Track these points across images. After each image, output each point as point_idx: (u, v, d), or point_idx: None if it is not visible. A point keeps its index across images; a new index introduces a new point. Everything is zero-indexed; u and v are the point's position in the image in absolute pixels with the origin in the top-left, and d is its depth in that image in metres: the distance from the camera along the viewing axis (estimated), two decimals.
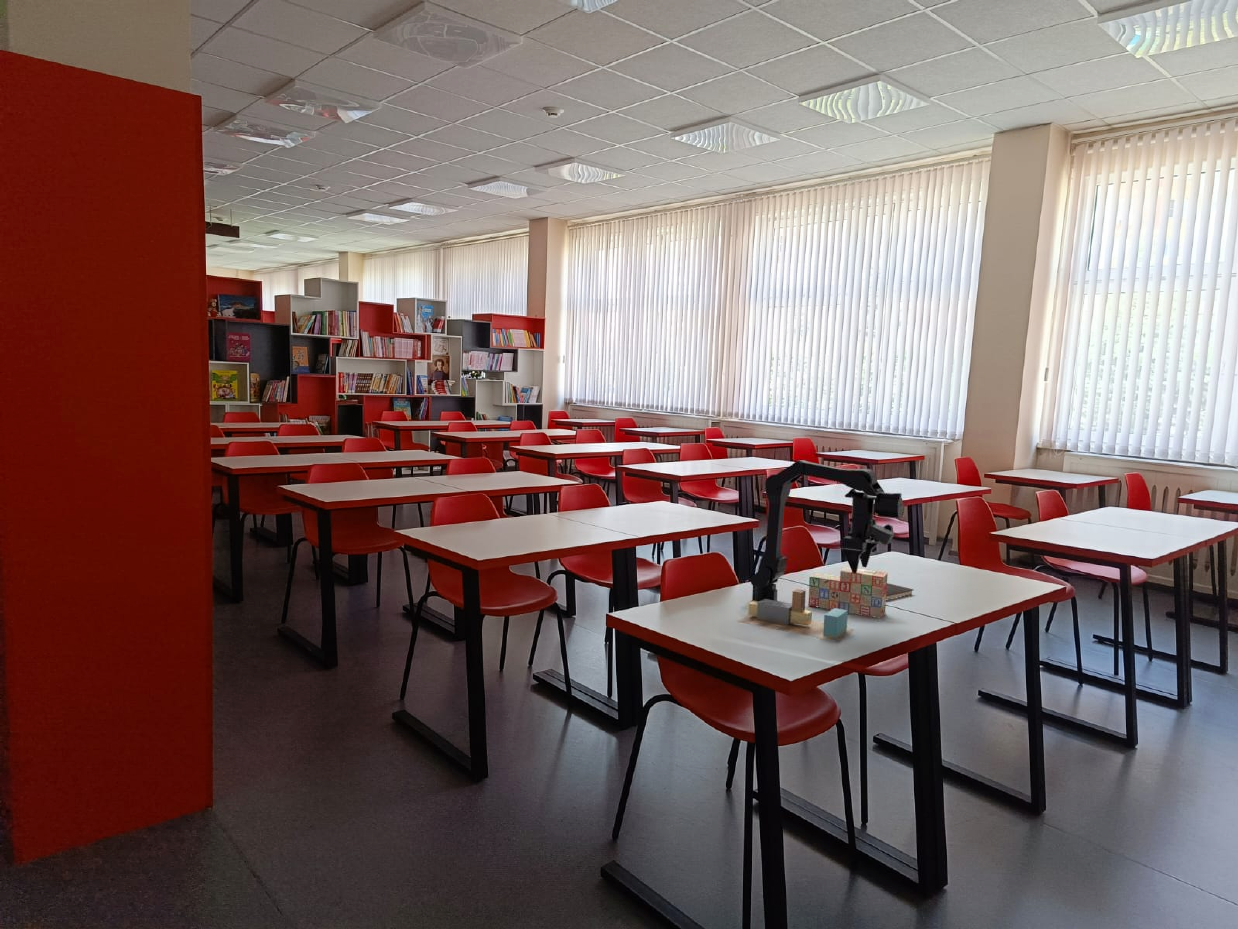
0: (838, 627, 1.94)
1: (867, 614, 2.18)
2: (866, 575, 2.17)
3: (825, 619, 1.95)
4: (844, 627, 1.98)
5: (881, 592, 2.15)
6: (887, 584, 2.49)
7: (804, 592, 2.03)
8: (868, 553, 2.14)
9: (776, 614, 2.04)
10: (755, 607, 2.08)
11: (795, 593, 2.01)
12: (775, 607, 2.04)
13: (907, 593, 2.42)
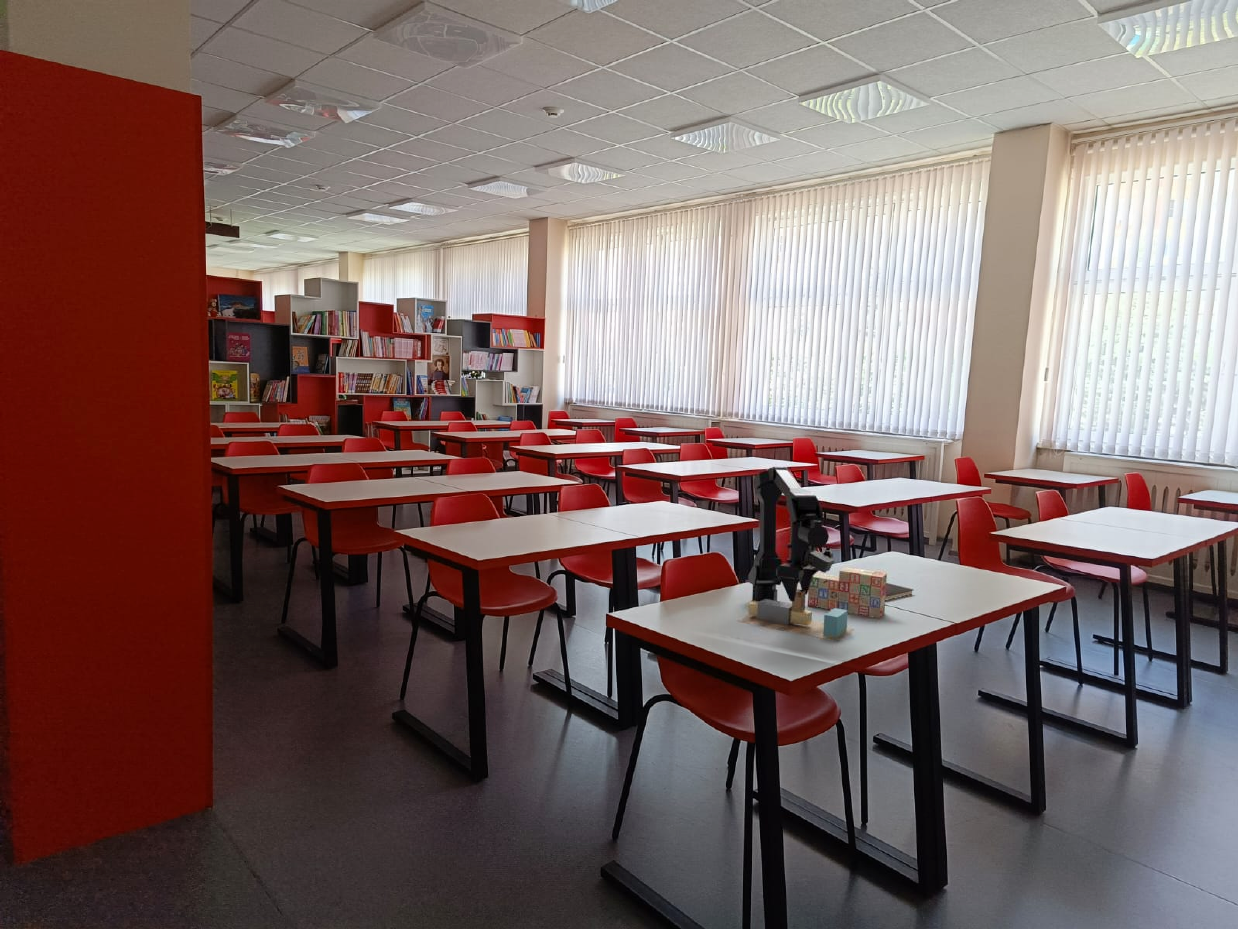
0: (838, 627, 1.94)
1: (866, 614, 2.18)
2: (865, 575, 2.17)
3: (825, 619, 1.95)
4: (844, 627, 1.98)
5: (880, 592, 2.15)
6: (887, 584, 2.49)
7: (804, 592, 2.03)
8: (808, 580, 2.06)
9: (776, 614, 2.04)
10: (755, 607, 2.08)
11: None
12: (775, 607, 2.04)
13: (907, 593, 2.42)
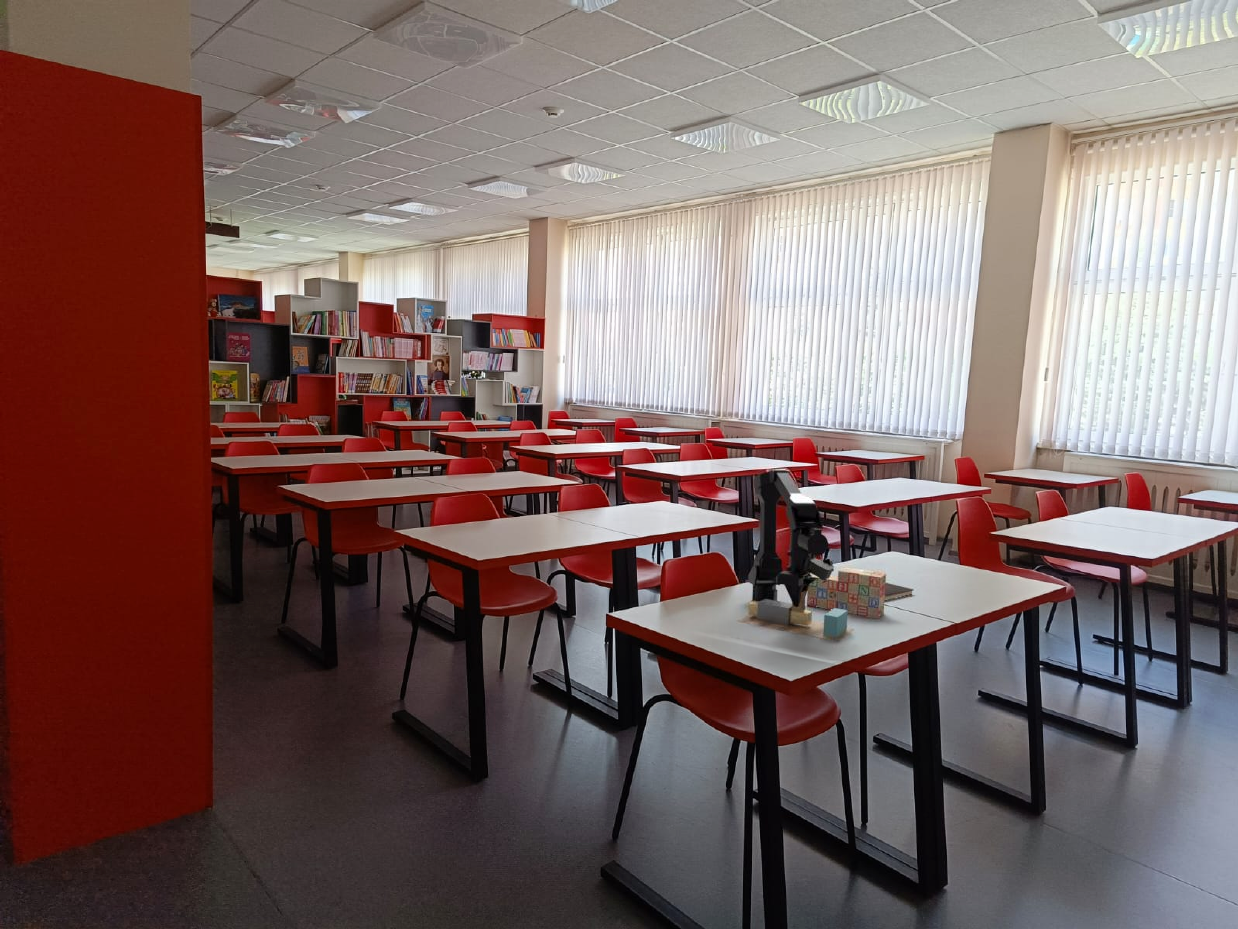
0: (838, 627, 1.94)
1: (864, 614, 2.17)
2: (863, 575, 2.17)
3: (825, 619, 1.95)
4: (844, 627, 1.98)
5: (878, 592, 2.15)
6: (887, 584, 2.49)
7: (804, 592, 2.03)
8: (804, 589, 2.04)
9: (776, 614, 2.04)
10: (755, 607, 2.08)
11: None
12: (775, 607, 2.04)
13: (907, 593, 2.42)
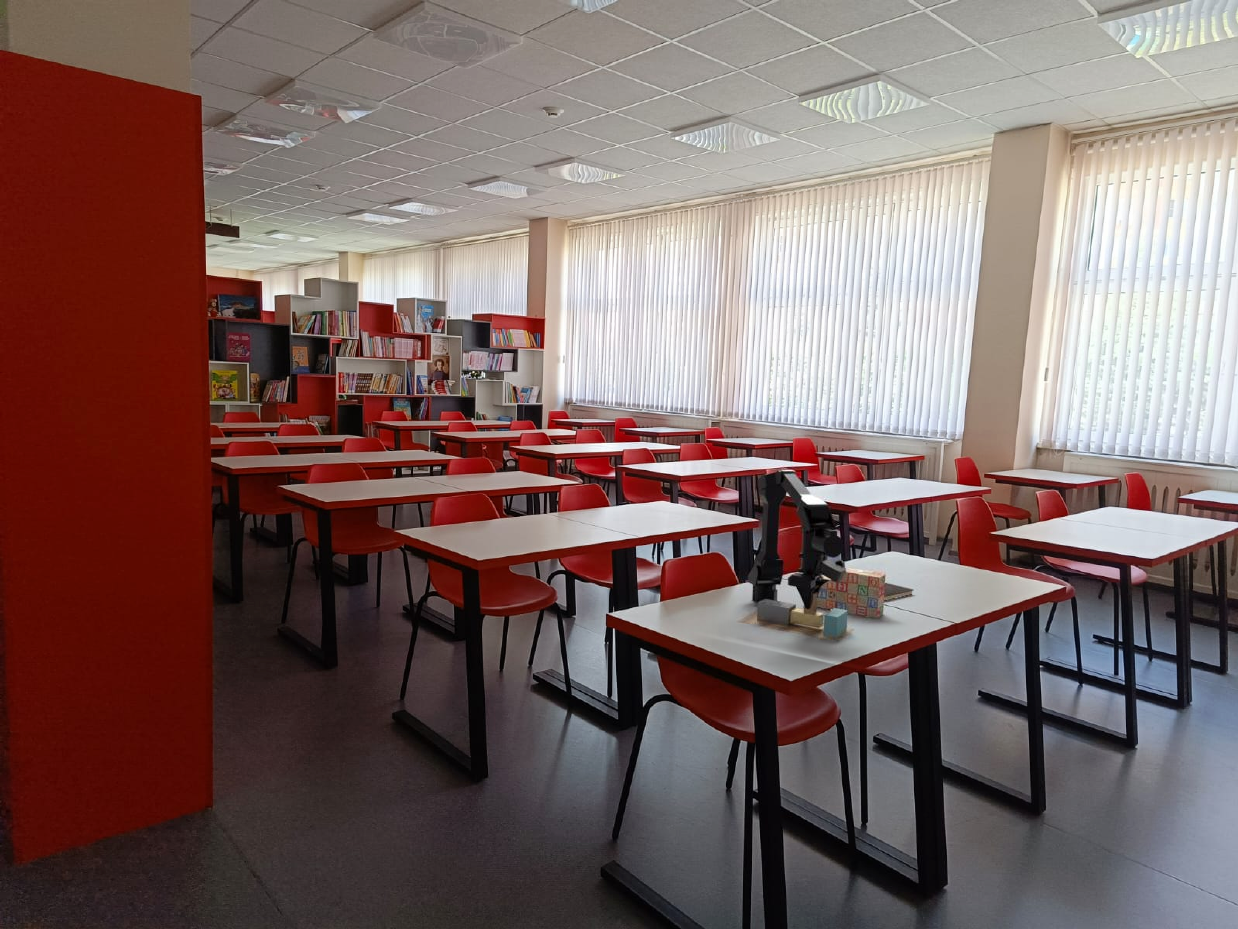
0: (838, 627, 1.94)
1: (863, 614, 2.17)
2: (862, 575, 2.17)
3: (825, 619, 1.95)
4: (844, 627, 1.98)
5: (877, 593, 2.15)
6: (887, 584, 2.49)
7: (816, 594, 2.01)
8: (816, 591, 2.02)
9: (776, 614, 2.04)
10: None
11: None
12: (775, 607, 2.04)
13: (907, 593, 2.42)
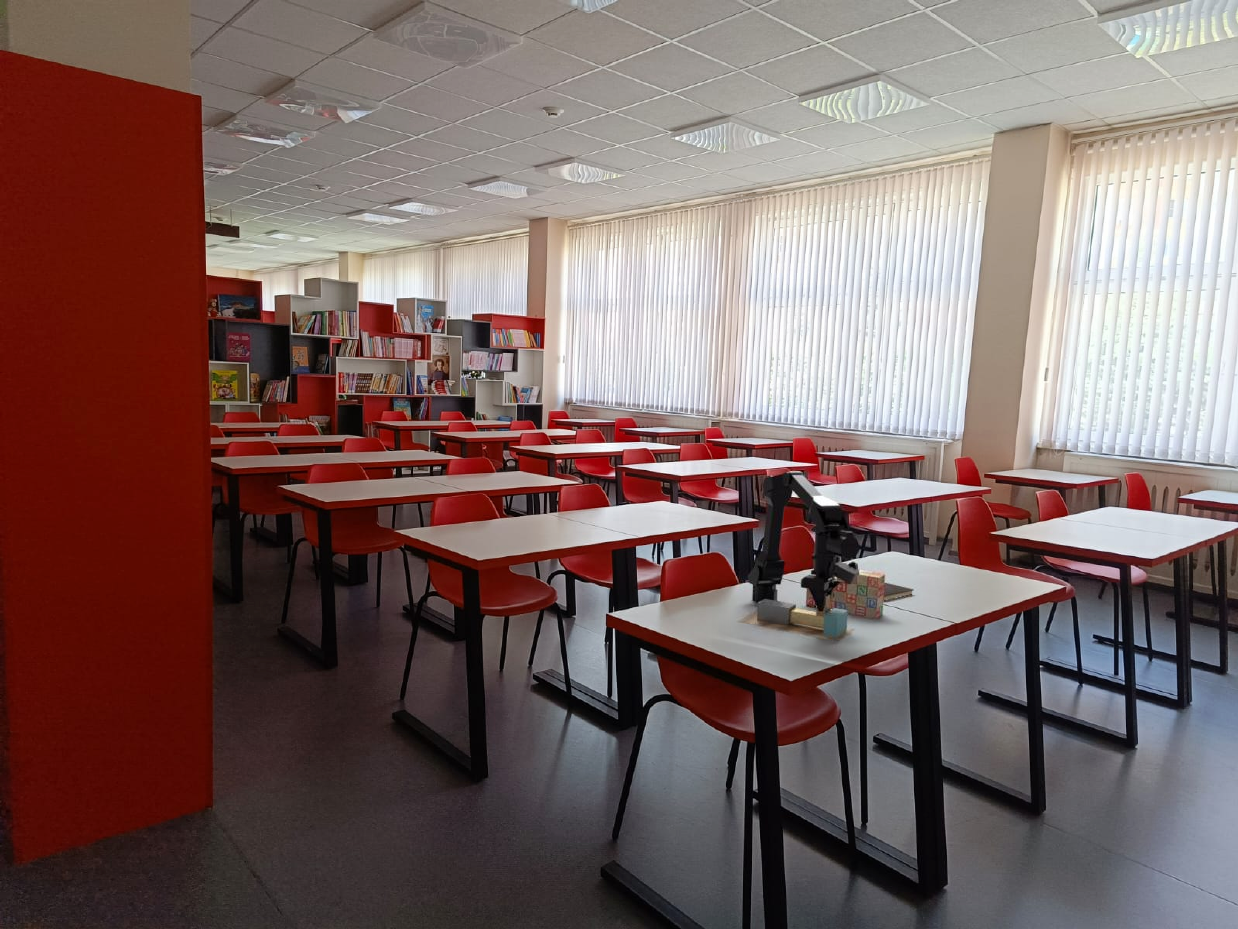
0: (838, 627, 1.94)
1: (863, 615, 2.17)
2: (862, 575, 2.17)
3: (825, 619, 1.95)
4: (844, 627, 1.98)
5: (876, 593, 2.14)
6: (887, 584, 2.49)
7: (829, 596, 1.99)
8: (829, 593, 2.00)
9: (776, 614, 2.04)
10: None
11: None
12: (775, 607, 2.04)
13: (907, 593, 2.42)
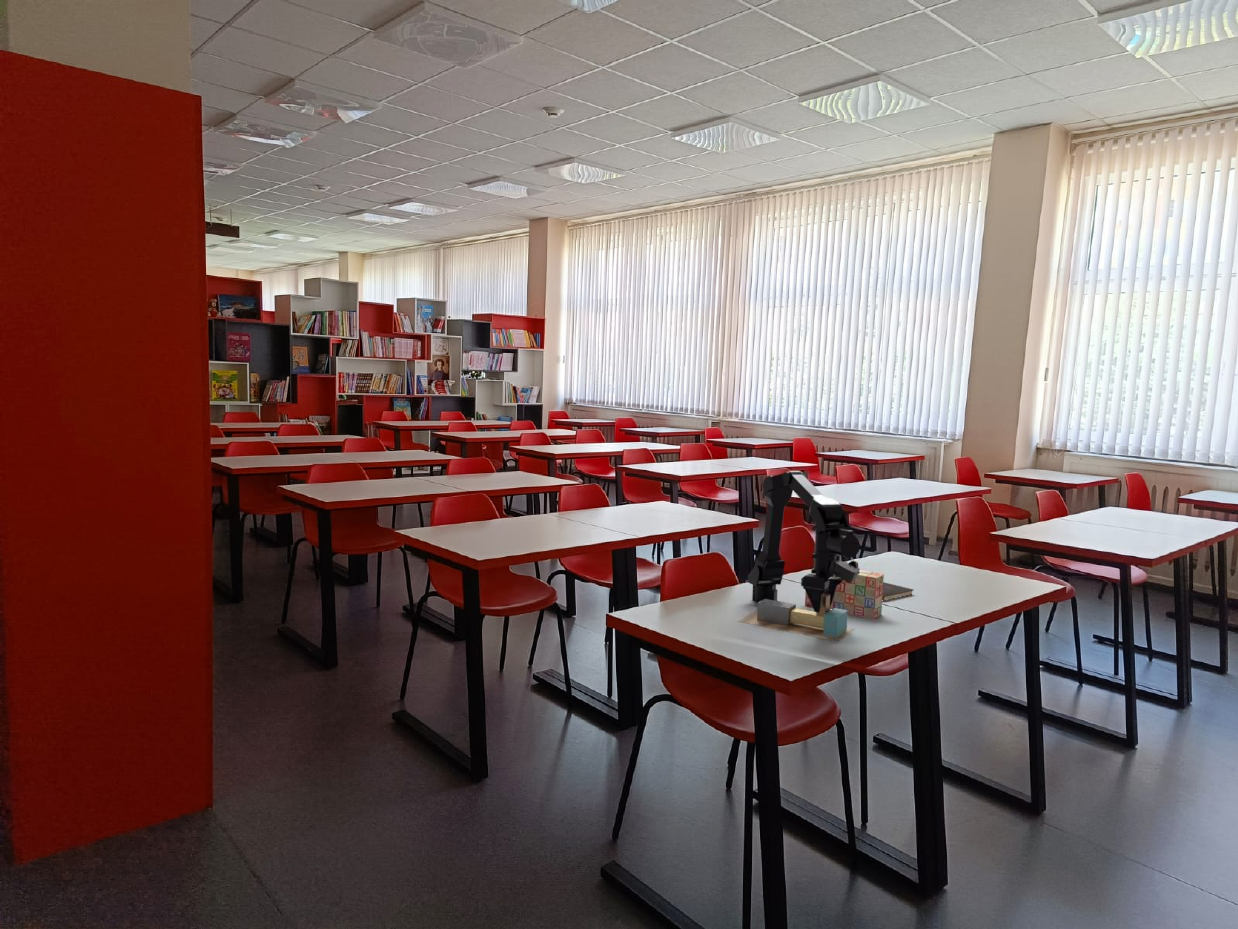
0: (838, 627, 1.94)
1: (861, 615, 2.17)
2: (860, 576, 2.16)
3: (825, 619, 1.95)
4: (844, 627, 1.98)
5: (874, 593, 2.14)
6: (887, 584, 2.49)
7: (829, 596, 1.99)
8: (833, 590, 2.02)
9: (776, 614, 2.04)
10: None
11: None
12: (775, 607, 2.04)
13: (907, 593, 2.42)
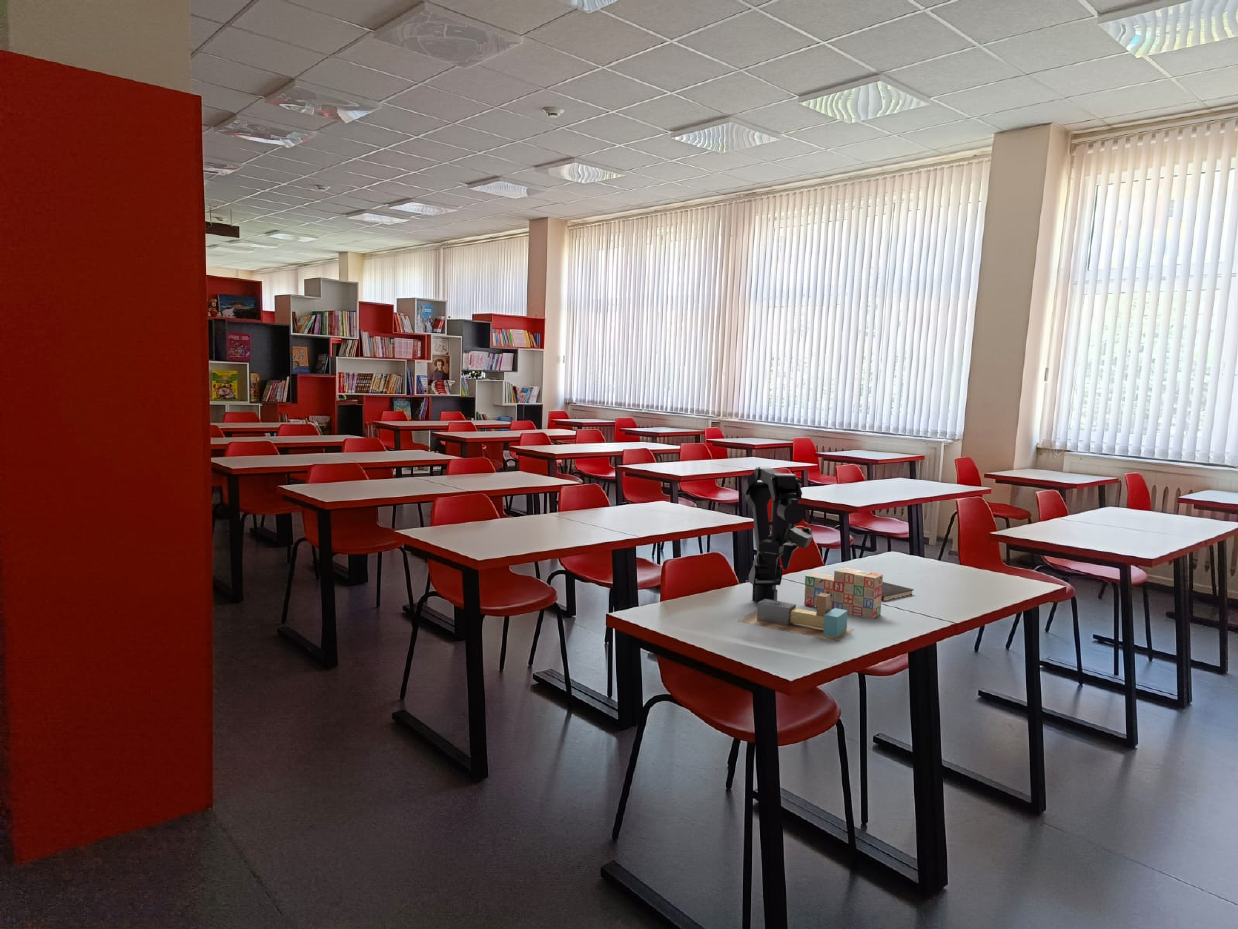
0: (838, 627, 1.94)
1: (859, 615, 2.17)
2: (858, 576, 2.16)
3: (825, 619, 1.95)
4: (844, 627, 1.98)
5: (873, 593, 2.14)
6: (887, 584, 2.49)
7: (829, 596, 1.99)
8: (789, 555, 2.17)
9: (776, 614, 2.04)
10: None
11: (820, 597, 1.98)
12: (775, 607, 2.04)
13: (907, 593, 2.42)
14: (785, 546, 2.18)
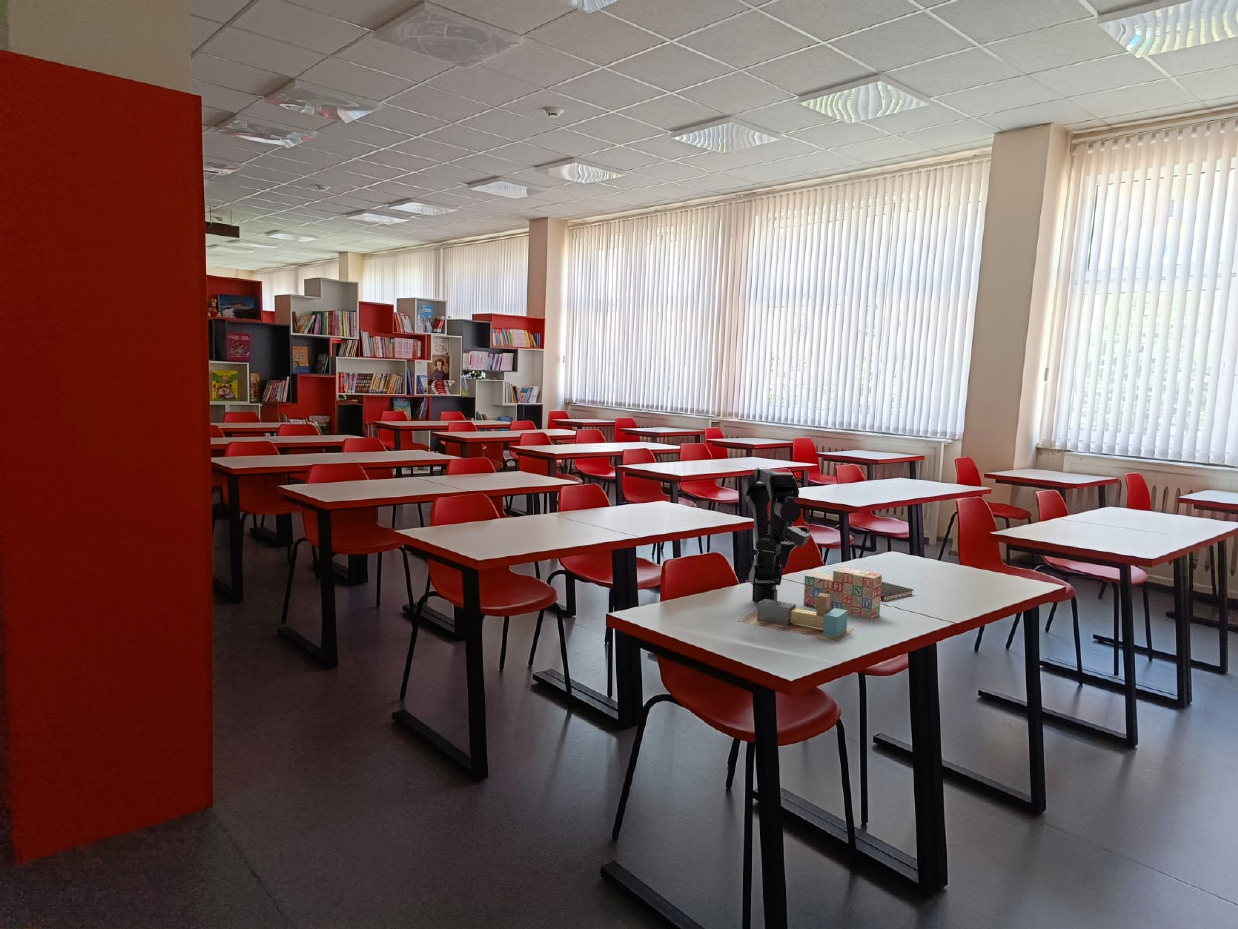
0: (838, 627, 1.94)
1: (858, 615, 2.17)
2: (857, 576, 2.16)
3: (825, 619, 1.95)
4: (844, 627, 1.98)
5: (871, 593, 2.14)
6: (887, 584, 2.49)
7: (829, 596, 1.99)
8: (787, 555, 2.17)
9: (776, 614, 2.04)
10: None
11: (820, 597, 1.98)
12: (775, 607, 2.04)
13: (907, 593, 2.42)
14: (783, 545, 2.18)
